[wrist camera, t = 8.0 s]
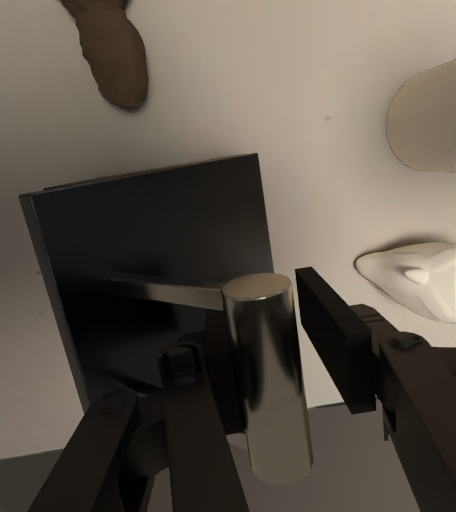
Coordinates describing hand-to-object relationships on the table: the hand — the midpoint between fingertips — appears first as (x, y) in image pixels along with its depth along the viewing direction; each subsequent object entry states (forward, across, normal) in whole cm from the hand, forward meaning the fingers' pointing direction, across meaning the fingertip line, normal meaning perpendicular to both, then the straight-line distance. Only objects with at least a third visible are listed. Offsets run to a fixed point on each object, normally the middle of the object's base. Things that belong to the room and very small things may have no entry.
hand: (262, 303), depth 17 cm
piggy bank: (+20, +13, -6) cm, 24 cm away
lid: (+2, -3, 0) cm, 4 cm away
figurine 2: (+18, -8, +17) cm, 26 cm away
